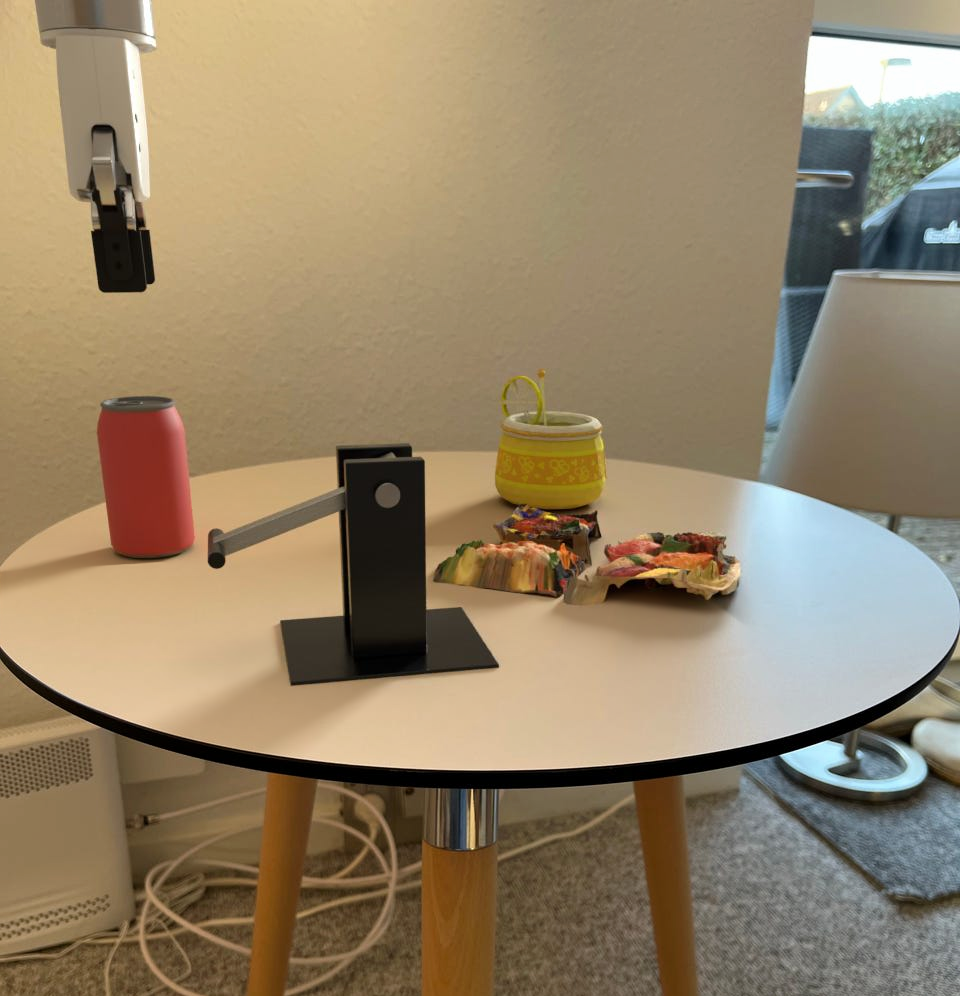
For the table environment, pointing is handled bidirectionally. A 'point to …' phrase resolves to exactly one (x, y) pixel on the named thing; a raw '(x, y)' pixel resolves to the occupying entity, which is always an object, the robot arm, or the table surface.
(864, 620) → the table surface
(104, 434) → the beer can
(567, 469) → the yellow flower pot
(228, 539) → the lever
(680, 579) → the food
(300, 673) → the bracket
